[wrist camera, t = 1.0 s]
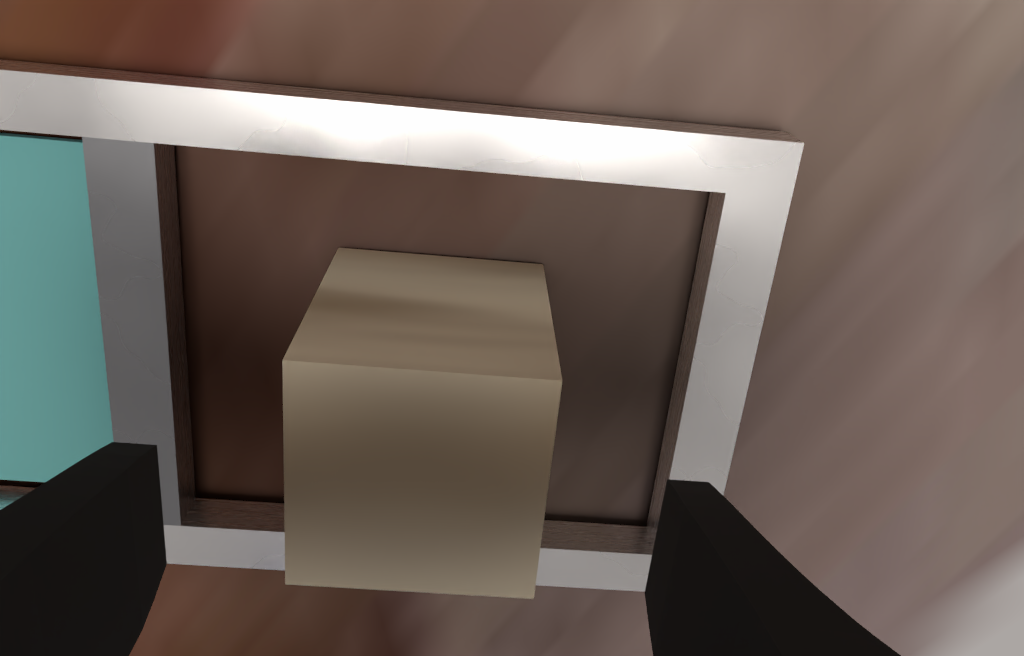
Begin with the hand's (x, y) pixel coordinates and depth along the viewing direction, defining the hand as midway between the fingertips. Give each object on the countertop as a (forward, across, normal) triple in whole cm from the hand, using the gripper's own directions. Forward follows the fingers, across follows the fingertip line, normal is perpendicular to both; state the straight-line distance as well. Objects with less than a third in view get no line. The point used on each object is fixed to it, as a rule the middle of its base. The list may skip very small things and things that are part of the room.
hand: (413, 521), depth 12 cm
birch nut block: (+6, 0, 0) cm, 6 cm away
